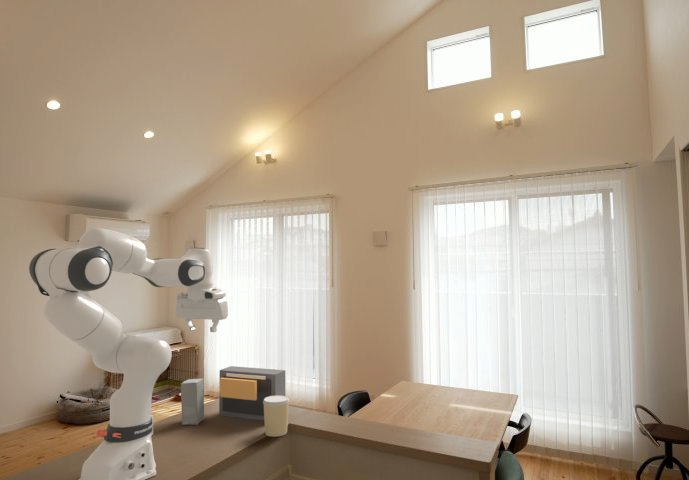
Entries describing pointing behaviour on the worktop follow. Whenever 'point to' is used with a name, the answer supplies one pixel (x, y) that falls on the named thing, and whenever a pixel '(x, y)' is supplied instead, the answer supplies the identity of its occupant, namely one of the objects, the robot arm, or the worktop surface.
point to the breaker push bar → (238, 388)
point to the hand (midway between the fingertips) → (202, 331)
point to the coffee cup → (276, 415)
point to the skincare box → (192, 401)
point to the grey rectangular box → (267, 385)
